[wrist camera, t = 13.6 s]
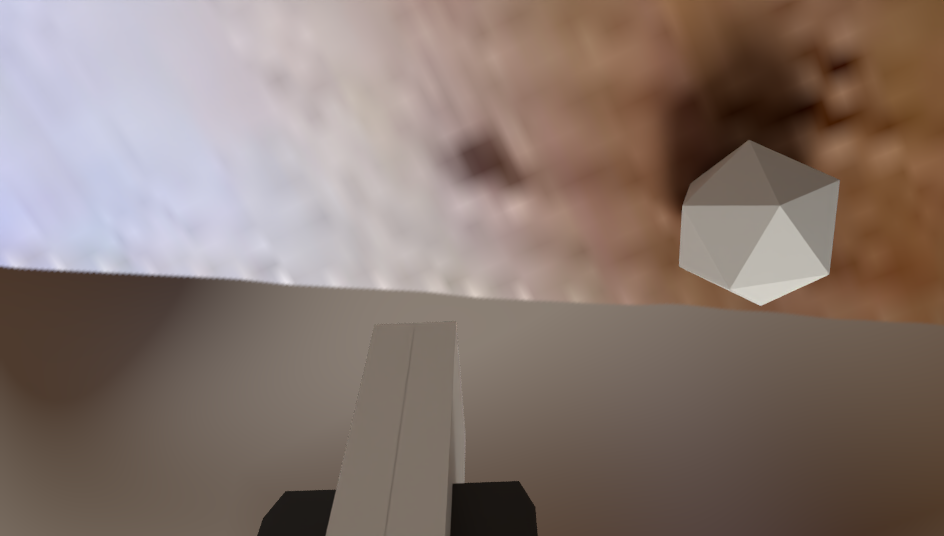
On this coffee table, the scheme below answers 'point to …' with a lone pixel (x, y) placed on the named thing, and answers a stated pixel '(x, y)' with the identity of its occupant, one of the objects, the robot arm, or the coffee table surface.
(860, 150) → the coffee table surface
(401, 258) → the coffee table surface
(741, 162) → the die
